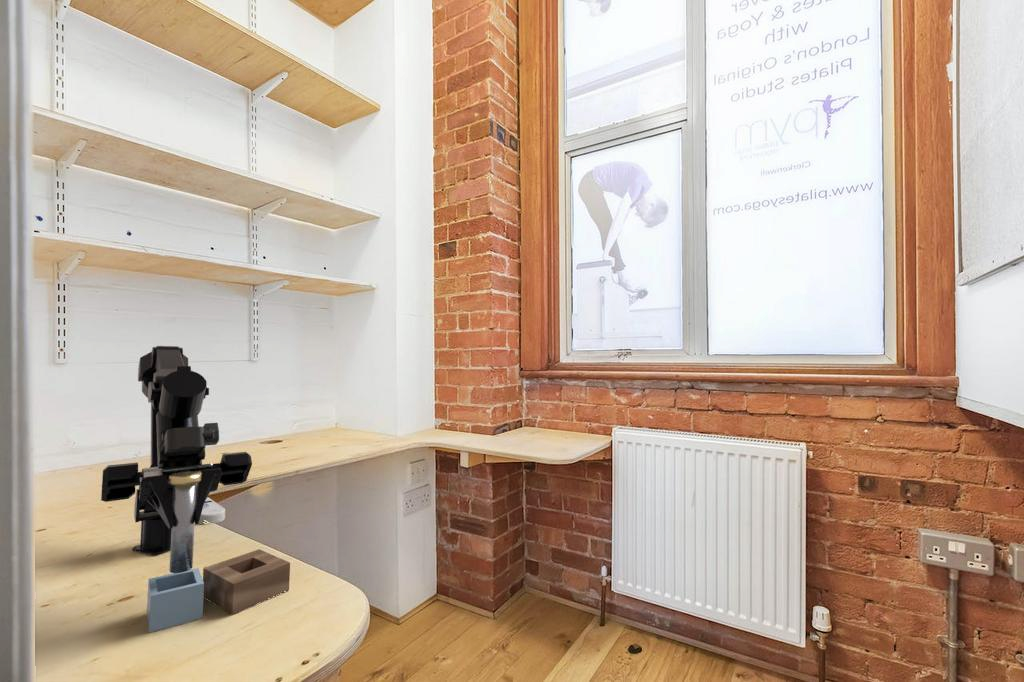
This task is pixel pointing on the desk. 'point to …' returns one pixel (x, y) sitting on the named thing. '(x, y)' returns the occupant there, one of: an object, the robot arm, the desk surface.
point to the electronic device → (211, 512)
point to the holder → (174, 599)
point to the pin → (183, 520)
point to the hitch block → (245, 580)
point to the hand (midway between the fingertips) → (184, 525)
